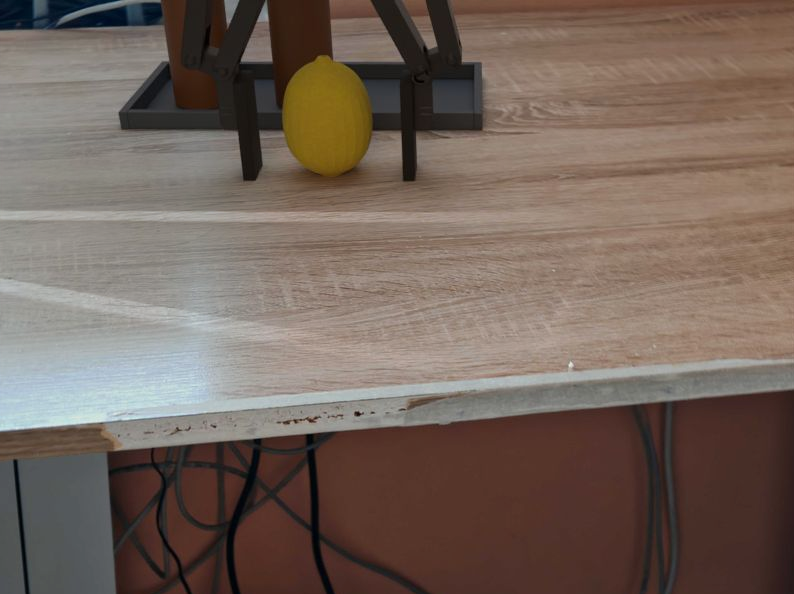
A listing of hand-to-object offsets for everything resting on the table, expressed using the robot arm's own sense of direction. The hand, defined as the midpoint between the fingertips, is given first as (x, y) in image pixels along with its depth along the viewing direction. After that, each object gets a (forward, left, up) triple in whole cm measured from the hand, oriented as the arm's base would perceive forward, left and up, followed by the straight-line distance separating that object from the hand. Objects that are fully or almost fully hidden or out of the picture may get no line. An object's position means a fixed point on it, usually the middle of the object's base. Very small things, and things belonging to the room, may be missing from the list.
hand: (331, 177), depth 69 cm
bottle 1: (-11, +14, 0) cm, 18 cm away
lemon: (0, 0, 0) cm, 0 cm away
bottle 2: (-4, +14, 0) cm, 14 cm away
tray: (-3, +14, 0) cm, 14 cm away
